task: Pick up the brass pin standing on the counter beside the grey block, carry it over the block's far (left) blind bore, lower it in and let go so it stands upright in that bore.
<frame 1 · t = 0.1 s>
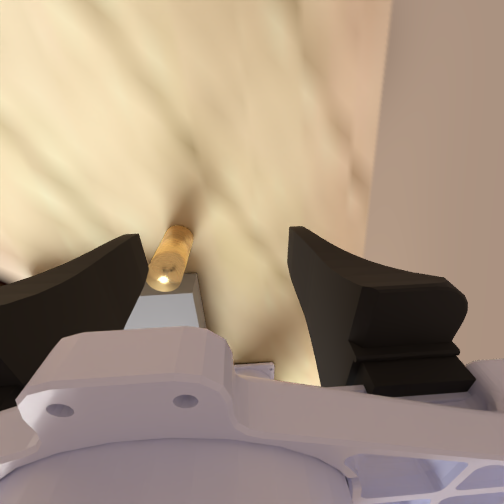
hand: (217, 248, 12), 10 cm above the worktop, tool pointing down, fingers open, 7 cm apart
brass pin: (179, 237, 23), on the worktop
bore block: (131, 321, 28), on the worktop
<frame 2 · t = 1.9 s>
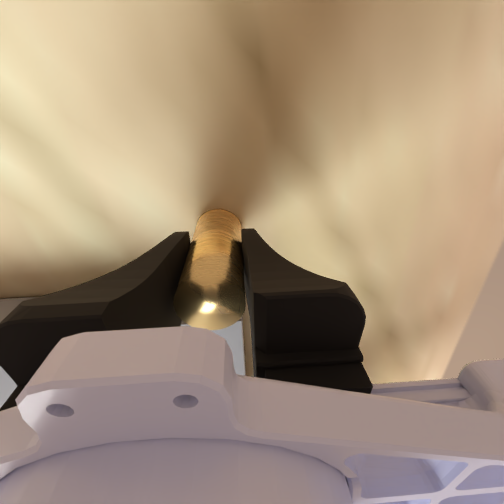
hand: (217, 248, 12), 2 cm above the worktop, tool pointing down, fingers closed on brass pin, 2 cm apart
brass pin: (219, 230, 14), on the worktop, touching gripper
bore block: (138, 354, 19), on the worktop
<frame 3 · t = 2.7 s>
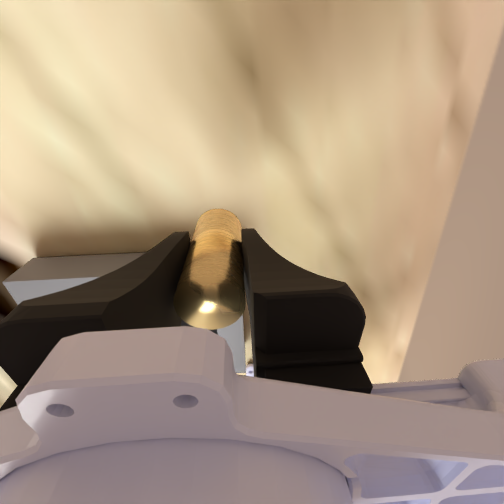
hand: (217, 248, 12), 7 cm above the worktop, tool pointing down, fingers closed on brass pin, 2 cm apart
brass pin: (219, 229, 14), point 5 cm above the worktop, touching gripper
bore block: (154, 308, 23), on the worktop
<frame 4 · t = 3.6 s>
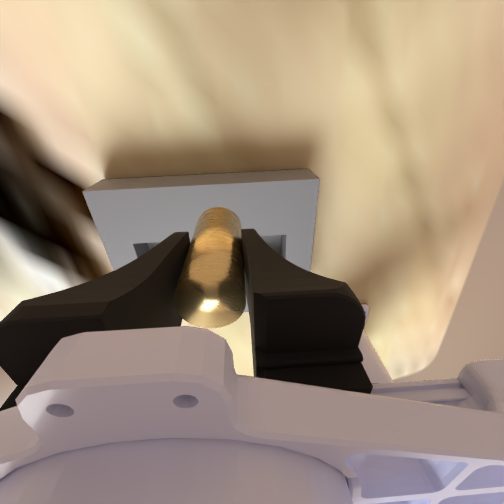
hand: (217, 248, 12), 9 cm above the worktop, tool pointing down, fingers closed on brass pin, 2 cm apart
brass pin: (219, 228, 14), point 7 cm above the worktop, touching gripper
bore block: (215, 241, 23), on the worktop
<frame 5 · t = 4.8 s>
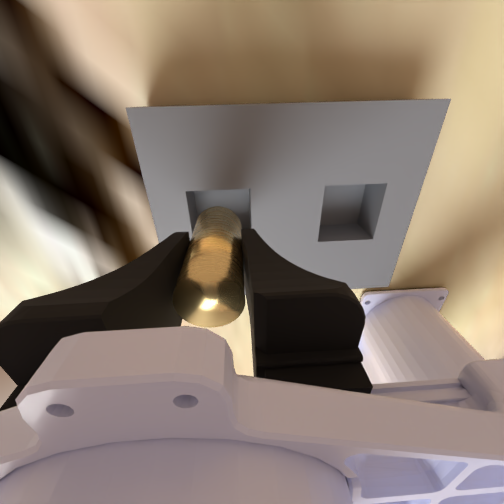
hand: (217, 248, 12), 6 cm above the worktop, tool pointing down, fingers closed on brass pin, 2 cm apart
brass pin: (218, 227, 14), point 4 cm above the worktop, touching gripper
bore block: (279, 200, 18), on the worktop
when the fingers open (4 cm above the worktop, at t = 5.7 s): brass pin drops 1 cm, resting on bore block.
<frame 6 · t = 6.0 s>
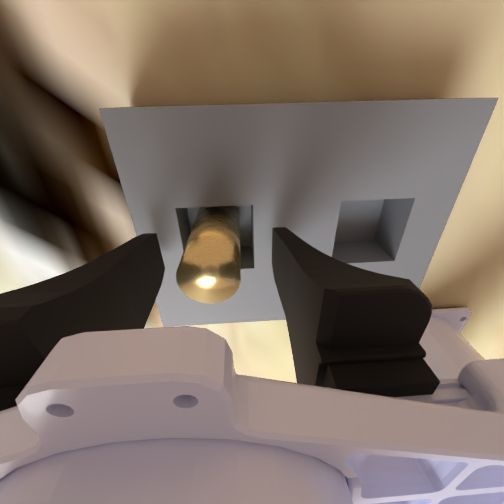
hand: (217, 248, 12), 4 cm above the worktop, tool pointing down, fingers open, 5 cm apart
brass pin: (218, 218, 15), point 1 cm above the worktop, touching bore block
bore block: (285, 214, 16), on the worktop
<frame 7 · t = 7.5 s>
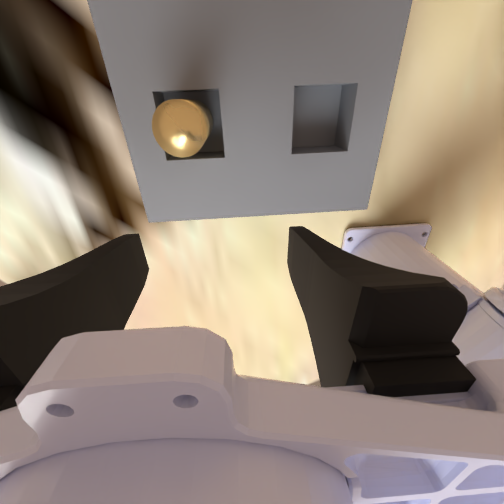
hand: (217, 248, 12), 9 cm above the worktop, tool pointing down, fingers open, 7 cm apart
brass pin: (194, 121, 17), point 1 cm above the worktop, touching bore block
bore block: (254, 120, 18), on the worktop
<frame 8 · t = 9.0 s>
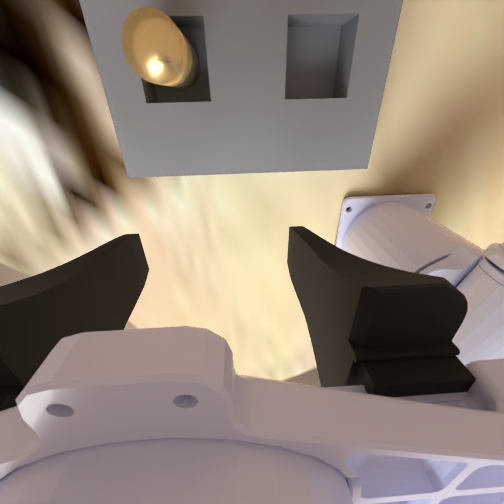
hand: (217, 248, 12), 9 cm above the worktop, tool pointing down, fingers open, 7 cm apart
brass pin: (179, 64, 15), point 1 cm above the worktop, touching bore block
bore block: (245, 67, 16), on the worktop
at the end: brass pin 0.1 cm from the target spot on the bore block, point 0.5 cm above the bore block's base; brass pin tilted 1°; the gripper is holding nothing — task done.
